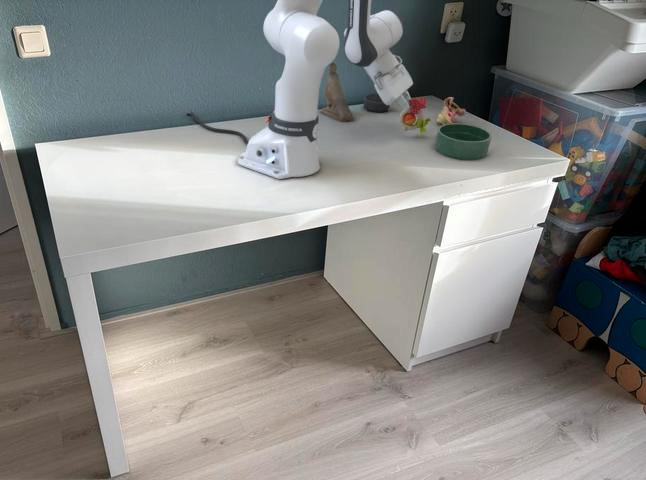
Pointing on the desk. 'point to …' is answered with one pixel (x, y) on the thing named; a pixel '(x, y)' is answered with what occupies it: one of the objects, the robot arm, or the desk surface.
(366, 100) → the smart speaker
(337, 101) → the worn brown figurine
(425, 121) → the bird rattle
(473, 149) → the bowl
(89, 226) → the desk surface
